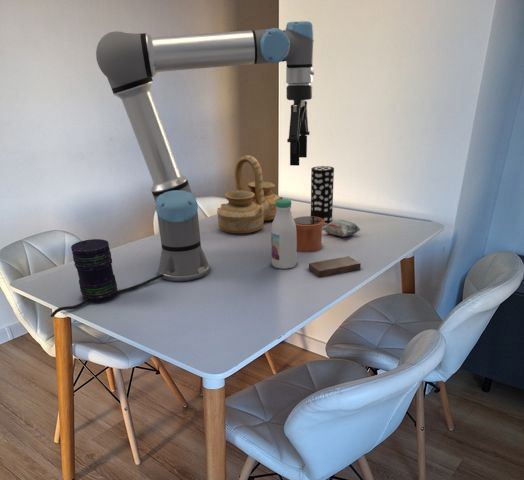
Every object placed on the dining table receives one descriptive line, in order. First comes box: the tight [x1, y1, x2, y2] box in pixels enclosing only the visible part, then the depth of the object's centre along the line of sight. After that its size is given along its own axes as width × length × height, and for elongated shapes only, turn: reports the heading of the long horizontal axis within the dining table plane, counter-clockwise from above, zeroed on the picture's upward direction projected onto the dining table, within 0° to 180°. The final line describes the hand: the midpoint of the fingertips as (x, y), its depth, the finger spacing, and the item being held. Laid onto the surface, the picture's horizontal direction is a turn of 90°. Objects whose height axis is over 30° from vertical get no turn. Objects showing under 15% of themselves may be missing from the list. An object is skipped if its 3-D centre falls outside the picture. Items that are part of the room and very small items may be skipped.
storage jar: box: [70, 238, 119, 305], centre depth 140 cm, size 10×10×15 cm
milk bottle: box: [270, 198, 298, 270], centre depth 155 cm, size 8×8×20 cm
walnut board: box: [308, 255, 362, 278], centre depth 155 cm, size 14×7×2 cm, turn 112°
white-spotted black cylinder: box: [310, 165, 335, 226], centre depth 194 cm, size 8×8×20 cm
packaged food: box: [322, 219, 361, 238], centre depth 183 cm, size 9×12×5 cm
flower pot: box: [293, 215, 325, 253], centre depth 172 cm, size 11×11×9 cm
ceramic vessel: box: [216, 155, 284, 234], centre depth 194 cm, size 34×18×25 cm, turn 154°
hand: (298, 161), depth 159 cm, fingers open, 13 cm apart
